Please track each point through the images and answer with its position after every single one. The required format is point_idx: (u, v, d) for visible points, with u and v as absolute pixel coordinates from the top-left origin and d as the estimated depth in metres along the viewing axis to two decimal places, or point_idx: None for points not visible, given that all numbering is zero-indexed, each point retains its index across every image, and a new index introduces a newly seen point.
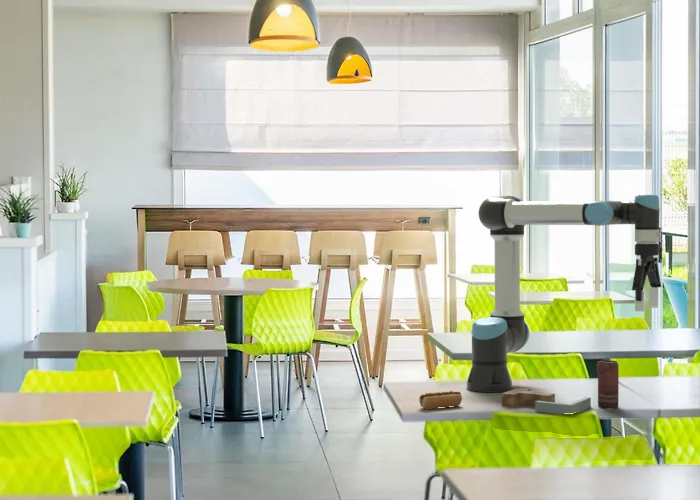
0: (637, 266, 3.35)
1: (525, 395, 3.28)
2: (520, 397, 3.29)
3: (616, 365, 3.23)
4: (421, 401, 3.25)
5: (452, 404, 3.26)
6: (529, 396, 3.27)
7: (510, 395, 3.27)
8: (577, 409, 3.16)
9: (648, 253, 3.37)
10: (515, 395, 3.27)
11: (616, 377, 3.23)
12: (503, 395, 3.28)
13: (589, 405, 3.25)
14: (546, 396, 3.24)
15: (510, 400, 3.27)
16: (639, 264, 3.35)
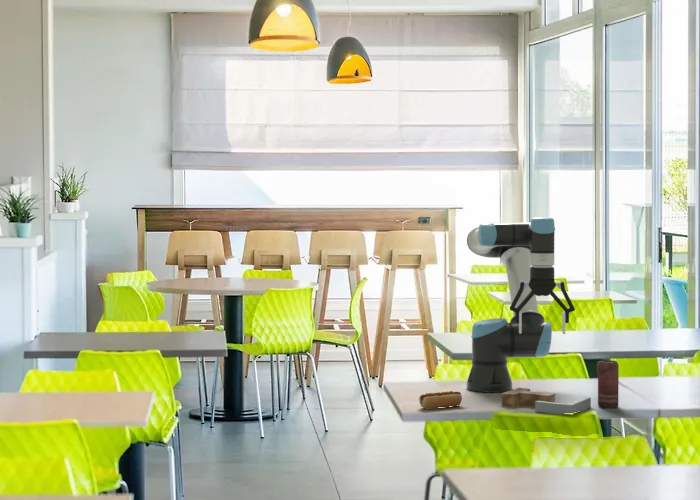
0: (519, 288, 3.39)
1: (525, 395, 3.28)
2: (520, 397, 3.29)
3: (616, 365, 3.23)
4: (421, 401, 3.25)
5: (452, 404, 3.26)
6: (529, 396, 3.27)
7: (510, 395, 3.27)
8: (577, 409, 3.16)
9: (531, 276, 3.36)
10: (515, 395, 3.27)
11: (616, 377, 3.23)
12: (503, 395, 3.28)
13: (589, 405, 3.25)
14: (546, 396, 3.24)
15: (510, 400, 3.27)
16: None
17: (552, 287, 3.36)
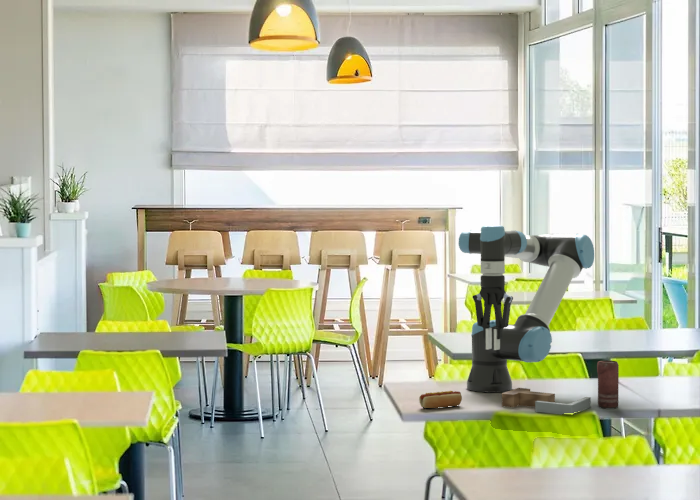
0: None
1: (525, 395, 3.28)
2: (520, 397, 3.29)
3: (616, 365, 3.23)
4: (421, 401, 3.25)
5: (452, 404, 3.26)
6: (529, 396, 3.27)
7: (510, 395, 3.27)
8: (577, 409, 3.16)
9: None
10: (515, 395, 3.27)
11: (616, 377, 3.23)
12: (503, 395, 3.28)
13: (589, 405, 3.25)
14: (546, 396, 3.24)
15: (510, 400, 3.27)
16: None
17: (500, 296, 3.33)
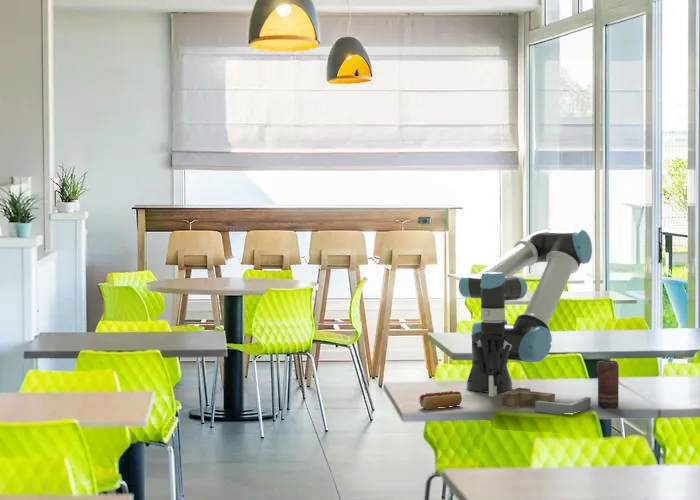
0: None
1: (525, 395, 3.28)
2: (520, 397, 3.29)
3: (616, 365, 3.23)
4: (421, 401, 3.25)
5: (452, 404, 3.26)
6: (529, 396, 3.27)
7: (510, 395, 3.27)
8: (577, 409, 3.16)
9: None
10: (515, 395, 3.27)
11: (616, 377, 3.23)
12: (503, 395, 3.28)
13: (589, 405, 3.25)
14: (546, 396, 3.24)
15: (510, 400, 3.27)
16: None
17: (500, 343, 3.33)
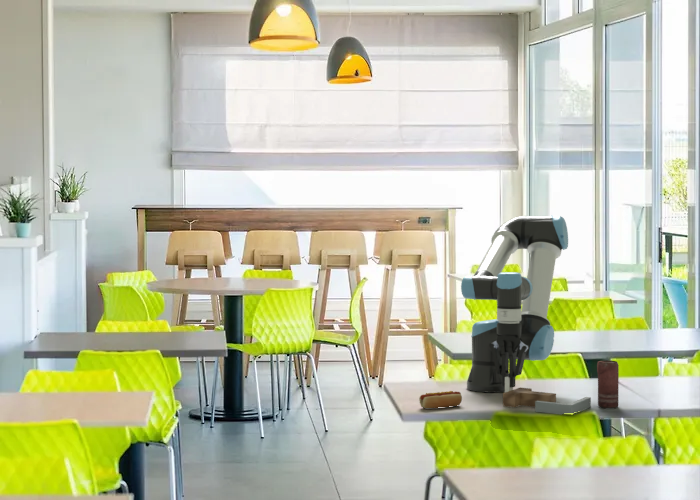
0: None
1: (526, 395, 3.28)
2: (521, 397, 3.29)
3: (616, 365, 3.23)
4: (421, 401, 3.25)
5: (452, 404, 3.26)
6: (530, 396, 3.27)
7: (511, 395, 3.26)
8: (577, 409, 3.16)
9: None
10: (516, 395, 3.27)
11: (616, 377, 3.23)
12: (504, 395, 3.28)
13: (589, 405, 3.25)
14: (547, 396, 3.24)
15: (512, 400, 3.26)
16: None
17: (516, 344, 3.30)
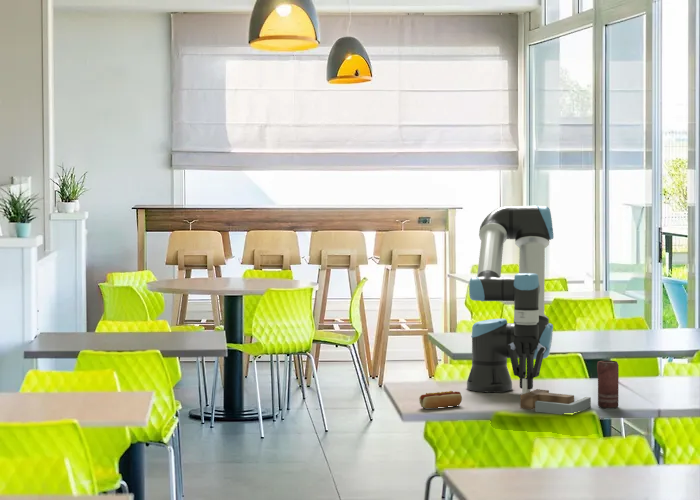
0: None
1: (544, 397, 3.25)
2: (539, 399, 3.26)
3: (616, 365, 3.23)
4: (421, 401, 3.25)
5: (452, 404, 3.26)
6: (548, 398, 3.24)
7: (529, 397, 3.23)
8: (577, 409, 3.16)
9: (514, 333, 3.30)
10: (534, 397, 3.24)
11: (616, 377, 3.23)
12: (522, 397, 3.25)
13: (589, 405, 3.25)
14: (565, 398, 3.21)
15: (529, 402, 3.23)
16: None
17: (534, 345, 3.27)
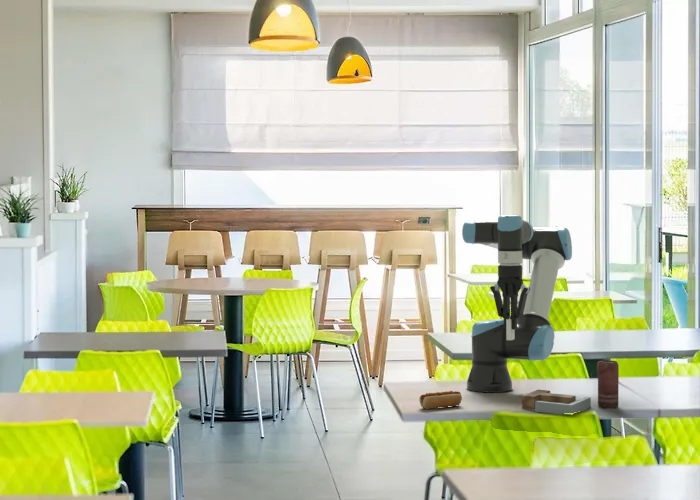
0: None
1: (545, 397, 3.24)
2: (540, 399, 3.25)
3: (616, 365, 3.23)
4: (421, 401, 3.25)
5: (452, 404, 3.26)
6: (550, 398, 3.24)
7: (530, 397, 3.23)
8: (577, 409, 3.16)
9: (498, 274, 3.34)
10: (535, 397, 3.23)
11: (616, 377, 3.23)
12: (523, 397, 3.24)
13: (589, 405, 3.25)
14: (567, 398, 3.21)
15: (531, 402, 3.23)
16: None
17: (517, 286, 3.31)
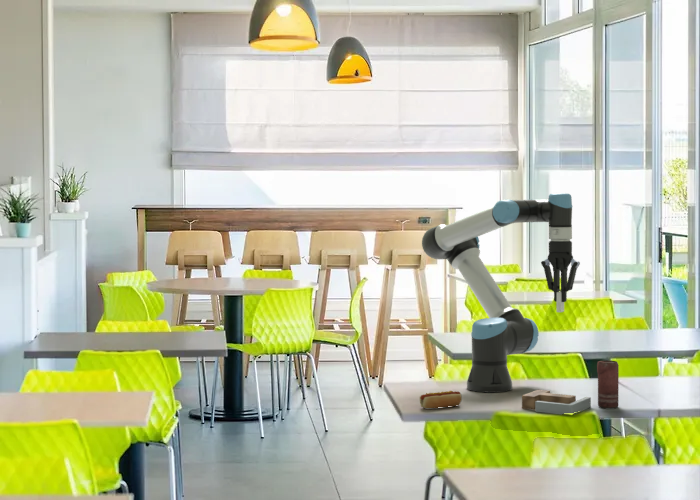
0: None
1: (545, 397, 3.24)
2: (540, 399, 3.25)
3: (616, 365, 3.23)
4: (421, 401, 3.25)
5: (452, 404, 3.26)
6: (550, 398, 3.24)
7: (530, 397, 3.23)
8: (577, 409, 3.16)
9: None
10: (535, 397, 3.23)
11: (616, 377, 3.23)
12: (523, 397, 3.24)
13: (589, 405, 3.25)
14: (567, 398, 3.21)
15: (531, 402, 3.23)
16: None
17: (568, 260, 3.49)
